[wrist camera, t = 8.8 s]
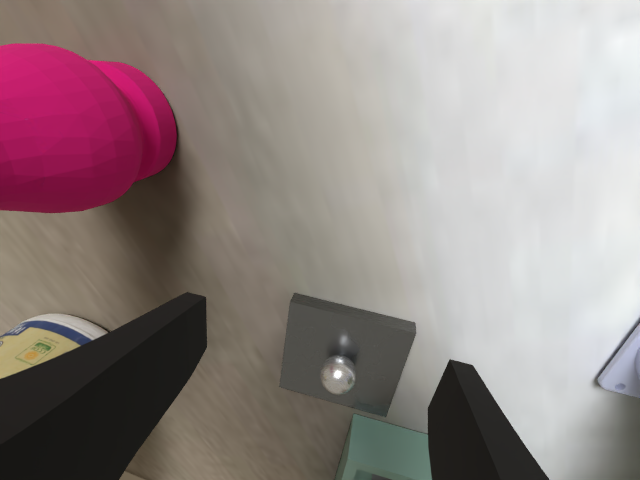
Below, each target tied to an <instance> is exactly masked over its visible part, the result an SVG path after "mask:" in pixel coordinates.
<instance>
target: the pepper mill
mask: <svg viewBox="0 0 640 480" xmlns="http://www.w3.org/2000/svg"><path fill="white" fill-rule="evenodd" d="M176 140H177V133H176V124H175V120H174V117H173V113H172V110H171V108H170V106H169V104H168V102H167V100H166V98H165V96H164V94H163V93H162V91H161V90H160V89H159V88H158V87H157V85H156V84H155V83H154V82H153V81H152V80H151V79H150V78H149V77H147V76H146V75H145V74H144V73H142V72H141V71H140V70H138V69H136V68H134V67H132V66H130V65H127V64H124V63H120V62H107V61H92V60H86V59H84V58H83V57H81V56H79V55H77V54H76V53H74V52H71V51H69V50H66V49H63V48H60V47H57V46H52V45H46V44H9V45H3V46H0V210H9V211H25V212H41V213H63V212H75V211H84V210H87V209H91V208H94V207H98V206H101V205H104V204H107V203H110V202H113V201H114V200H116V199H117V198H119V197H120V196H122V195H123V194H124V193H126V191H127V190H128V189H129V188H130V187H131V185H132V184H133V182H136V181H139V180H142V179H144V178H147V177H149V176H152V175H154V174H157V173H158V172H160V171H161V170H163V169H164V168H165V167H166V166H167V165H168V164H169V162H170V160H171V159H172V156H173V154H174V151H175V147H176Z"/></svg>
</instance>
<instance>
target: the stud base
mask: <svg viewBox="0 0 640 480" xmlns="http://www.w3.org/2000/svg"><path fill="white" fill-rule="evenodd" d="M415 335H416V326H415V323H414V322H410V321H406V320H402V319H398V318H394V317H390V316H386V315H382V314H378V313H374V312H370V311H365V310H361V309H357V308H353V307H349V306H345V305H341V304H337V303H333V302H329V301H325V300H321V299H317V298H313V297H309V296H304V295H300V294H296V293H294V295H293V297H292V299H291V301H290V306H289V314H288V322H287V330H286V338H285V346H284V354H283V362H282V370H281V378H280V386H279V387H281V388H285V389H288V390H292V391H295V392H299V393H302V394H306V395H309V396H313V397H316V398H320V399H324V400H327V401H331V402H334V403H338V404H341V405H345V406H348V407H352V408H355V409H359V410H362V411H366V412H369V413H373V414H377V415H380V416H384V417H386V415H387V412H388V409H389V407H390V404H391V401H392V398H393V396H394V393H395V390H396V387H397V385H398V382H399V379H400V376H401V373H402V371H403V368H404V365H405V362H406V360H407V357H408V354H409V351H410V349H411V346H412V343H413V340H414V338H415Z"/></svg>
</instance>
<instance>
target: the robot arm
mask: <svg viewBox="0 0 640 480" xmlns="http://www.w3.org/2000/svg"><path fill="white" fill-rule="evenodd" d="M206 348H207V326H206V297H204V296H200V295H196V294H192V293H189V292H187V293H185V294H183V295H181V296H179V297H177V298H175V299H173V300H171V301H169V302H167V303H165V304H163V305H161V306H159V307H158V308H156V309H154V310H152V311H150V312H148V313H146V314H144V315H142V316H140V317H138V318H137V319H135V320H133V321H131V322H129V323H127V324H125V325H123V326H121V327H119V328H117V329H115V330H113V331H111V332H109V333H107V334H105V335H103V336H100V337H98V338H96V339H94V340H92V341H90V342H88V343H86V344H83V345H81V346H79V347H77V348H75V349H73V350H71V351H68V352H66V353H64V354H62V355H59V356H57V357H55V358H52V359H50V360H47V361H45V362H43V363H40V364H38V365H35V366H32V367H30V368H27V369H25V370H22V371H20V372H17V373H15V374H12V375H9V376H7V377H4V378H1V379H0V480H119V479H120V477H121V475H122V474H123V472H124V471H125V469H126V467H127V466H128V464H129V463H130V461H131V460H132V458H133V457H134V455H135V454H136V452H137V451H138V449H139V448H140V447H141V445H142V444H143V443H144V441H145V440H146V438H147V437H148V436H149V434H150V433H151V432H152V430H153V429H154V427H155V426H156V425H157V423H158V422H159V420H160V419H161V418H162V416H163V415H164V414H165V412H166V411H167V409H168V408H169V407H170V405H171V404H172V403H173V401H174V400H175V398H176V397H177V396H178V394H179V393H180V391H181V390H182V388H183V387H184V386H185V384H186V383H187V381H188V380H189V379H190V377H191V375H192V373H193V372H194V370H195V368H196V366H197V365H198V363H199V361H200V359H201V357H202V355H203V354H204V352H205V350H206ZM598 383H599V384H600V386H601V387H602V388H603V389H606V390H610V391H614V392H618V393H621V394H625V395H629V396H633V397H637V398H640V323H639V325H638V326H637V327H636V329H635V330H634V331H633V333H632V334H631V335H630V337H629V338H628V339H627V341H626V342H625V343H624V345H623V346H622V347H621V348H620V350H619V351H618V352H617V354H616V355H615V356H614V358H613V359H612V360H611V362H610V363H609V364H608V366H607V367H606V368H605V370H604V371H603V372H602V374H601V375H600V376H599V378H598ZM428 449H429V459H430V467H431V476H432V480H549V478H548V477H547V476H546V474H545V473H544V472H543V470H542V469H541V467H540V466H539V465H538V463H537V462H536V460H535V459H534V458H533V456H532V455H531V453H530V452H529V451H528V449H527V448H526V446H525V445H524V443H523V442H522V440H521V439H520V437H519V436H518V434H517V433H516V431H515V430H514V429H513V427H512V426H511V424H510V423H509V421H508V419H507V418H506V416H505V415H504V413H503V412H502V410H501V409H500V407H499V406H498V404H497V403H496V401H495V399H494V398H493V396H492V395H491V393H490V392H489V390H488V388H487V387H486V385H485V384H484V382H483V381H482V379H481V377H480V376H479V374H478V373H477V371H476V370H475V368H474V367H473V365H470V364H466V363H462V362H458V361H454V360H449V362H448V364H447V367H446V369H445V371H444V373H443V376H442V378H441V380H440V382H439V385H438V387H437V389H436V391H435V394H434V396H433V398H432V400H431V403H430V405H429V407H428Z"/></svg>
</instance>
